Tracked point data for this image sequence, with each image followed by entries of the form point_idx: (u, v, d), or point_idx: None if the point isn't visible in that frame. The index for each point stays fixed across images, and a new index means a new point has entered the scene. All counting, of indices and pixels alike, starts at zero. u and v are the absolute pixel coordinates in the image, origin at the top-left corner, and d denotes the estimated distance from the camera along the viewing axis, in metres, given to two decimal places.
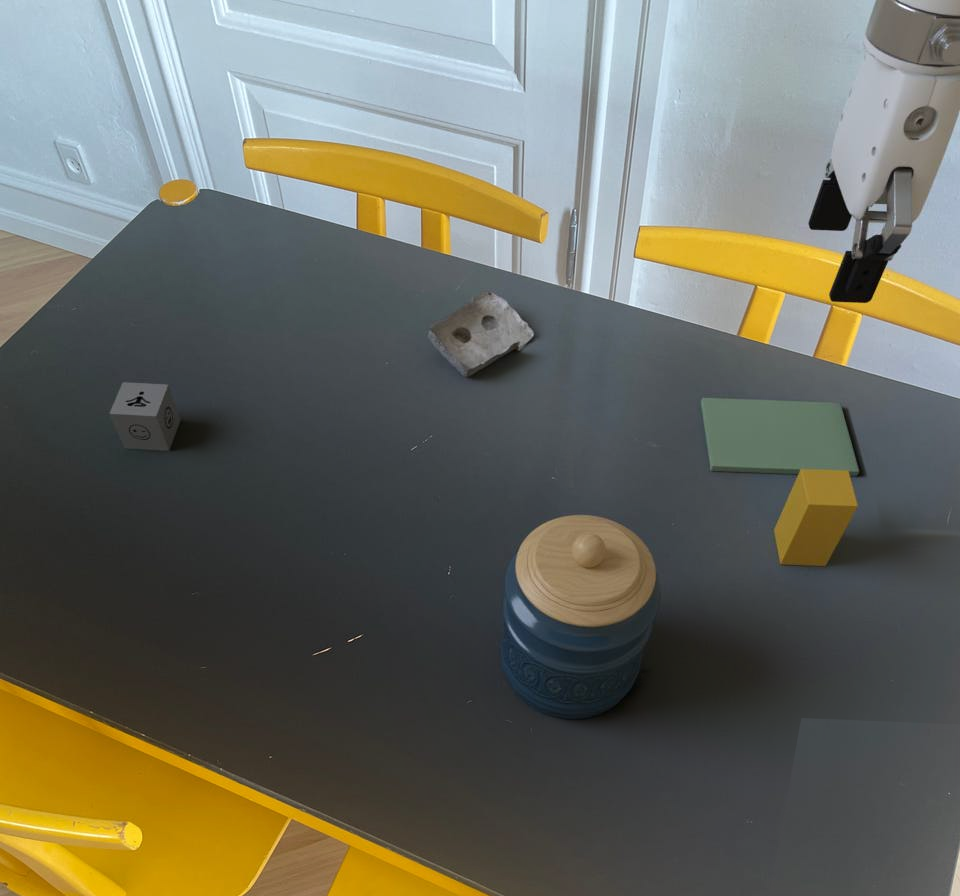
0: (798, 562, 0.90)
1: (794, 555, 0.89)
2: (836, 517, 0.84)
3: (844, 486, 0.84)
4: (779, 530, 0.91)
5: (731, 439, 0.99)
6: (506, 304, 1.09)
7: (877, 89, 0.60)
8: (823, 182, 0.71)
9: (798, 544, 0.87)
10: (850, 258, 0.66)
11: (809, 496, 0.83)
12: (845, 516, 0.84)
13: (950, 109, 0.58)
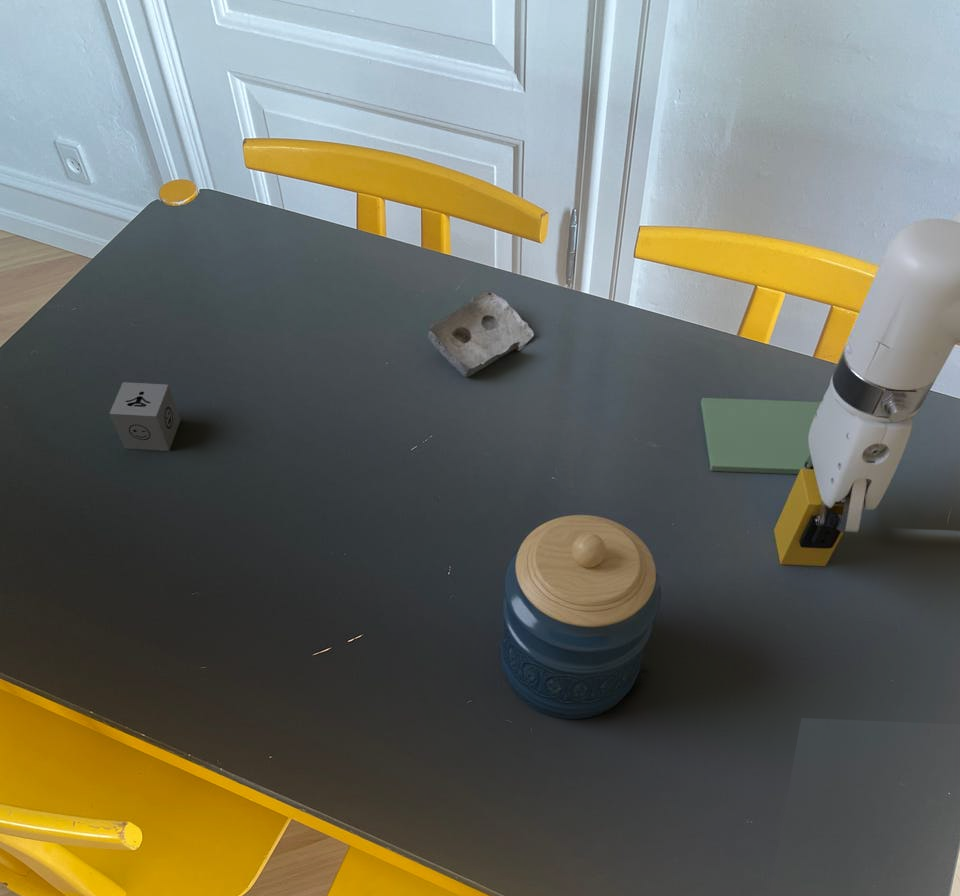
0: (798, 562, 0.90)
1: (794, 555, 0.89)
2: None
3: None
4: (779, 530, 0.91)
5: (731, 439, 0.99)
6: (506, 304, 1.09)
7: (841, 420, 0.75)
8: None
9: (798, 544, 0.87)
10: (815, 522, 0.84)
11: (809, 496, 0.83)
12: None
13: (898, 445, 0.73)
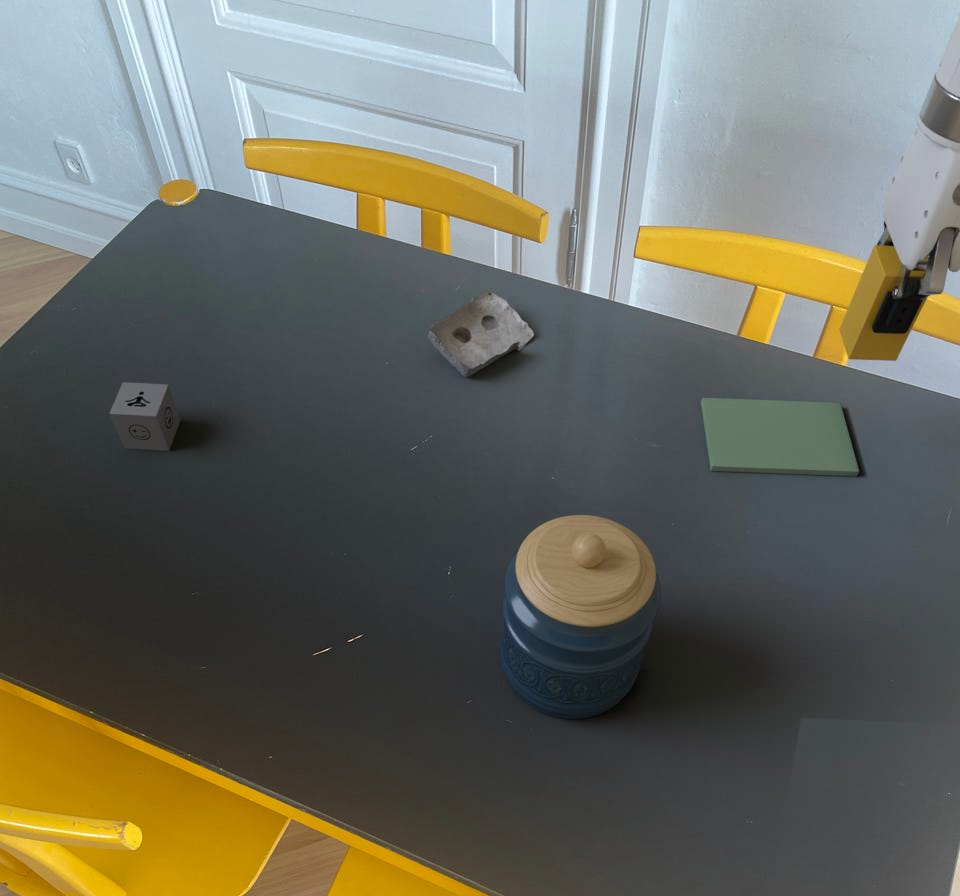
0: (867, 356, 0.85)
1: (864, 346, 0.84)
2: None
3: None
4: (846, 325, 0.86)
5: (731, 439, 0.99)
6: (506, 304, 1.09)
7: (928, 162, 0.70)
8: None
9: (870, 330, 0.82)
10: (891, 297, 0.79)
11: (885, 268, 0.78)
12: None
13: None
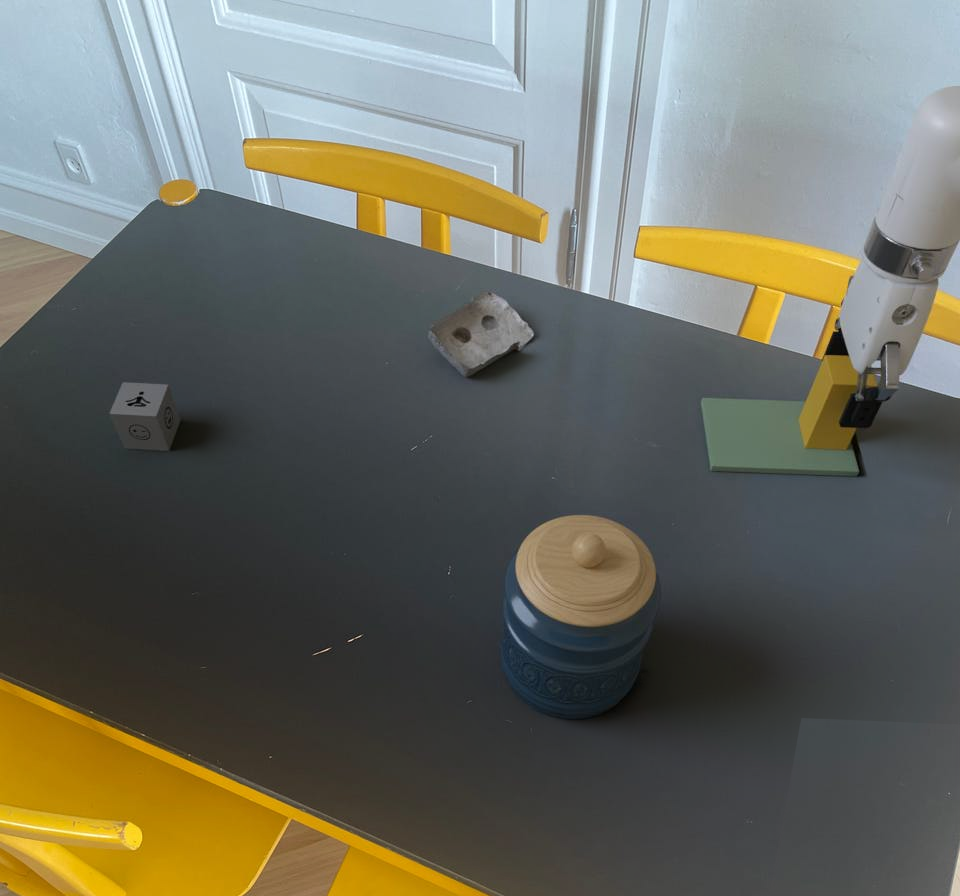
0: (821, 446, 0.98)
1: (817, 438, 0.97)
2: None
3: None
4: (803, 417, 0.99)
5: (731, 439, 0.99)
6: (506, 304, 1.09)
7: (872, 287, 0.82)
8: (833, 333, 0.94)
9: (822, 426, 0.95)
10: (854, 399, 0.89)
11: (833, 377, 0.91)
12: None
13: (925, 306, 0.80)
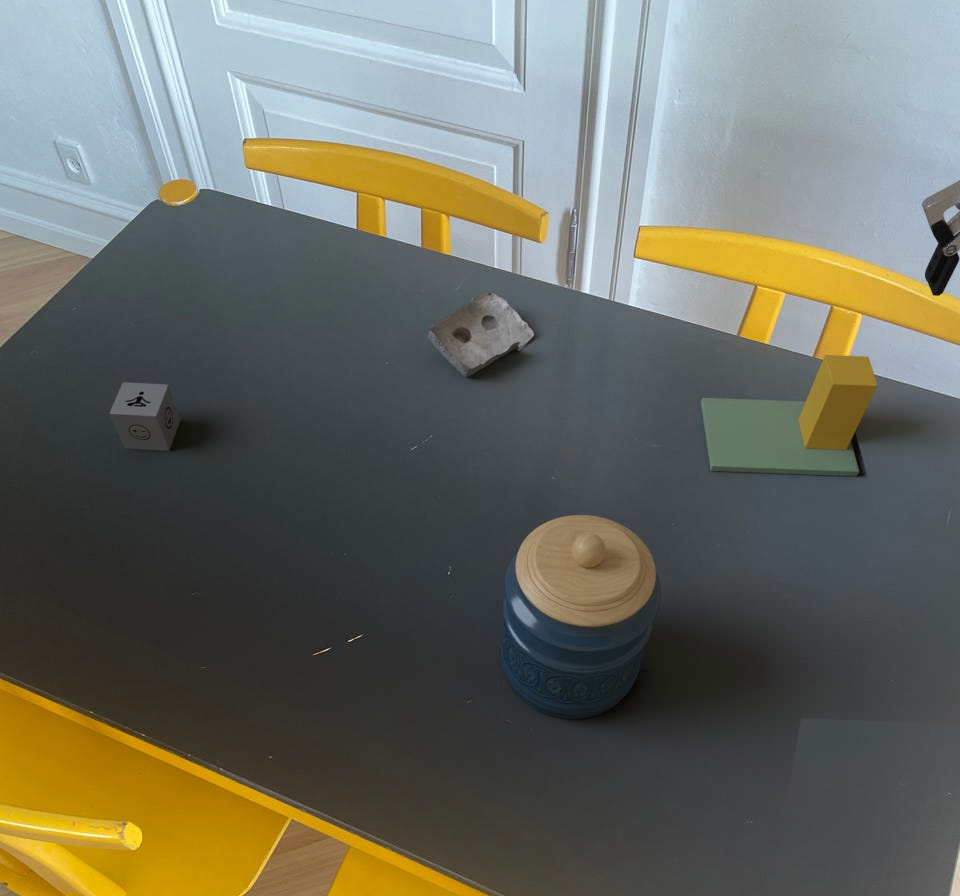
0: (821, 446, 0.98)
1: (817, 438, 0.97)
2: (857, 397, 0.92)
3: (864, 369, 0.92)
4: (803, 417, 0.99)
5: (731, 439, 0.99)
6: (506, 304, 1.09)
7: None
8: None
9: (822, 426, 0.95)
10: None
11: (833, 377, 0.91)
12: (865, 396, 0.92)
13: None
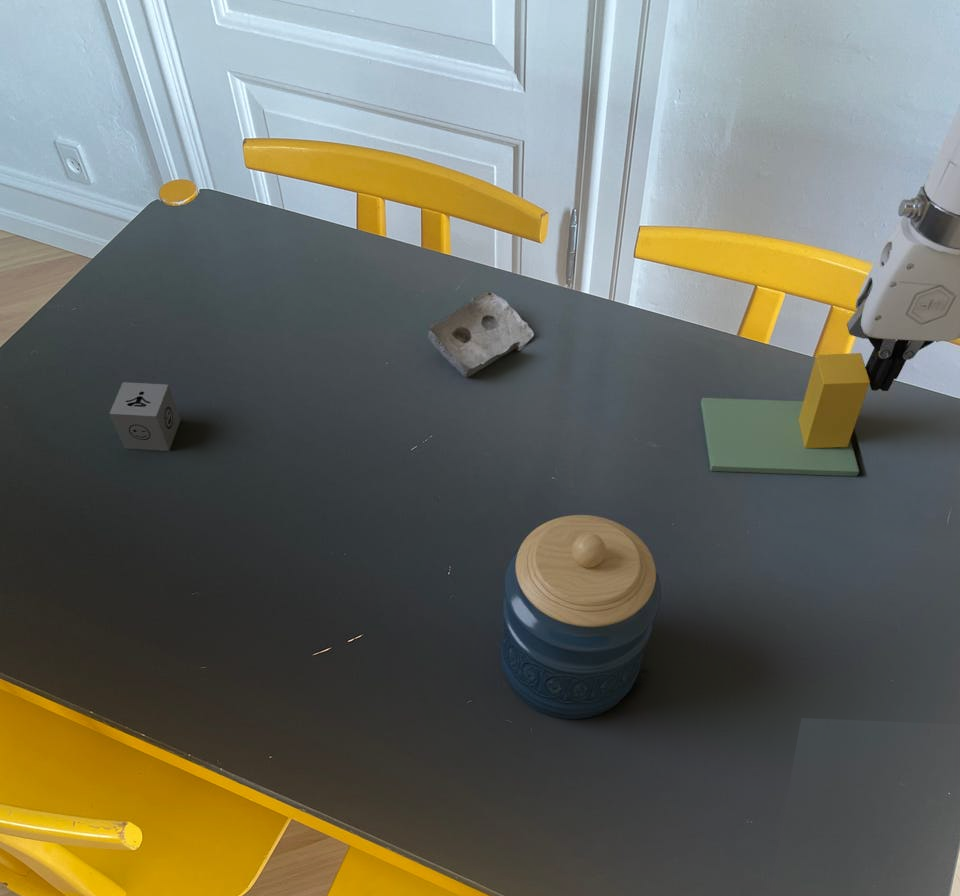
0: (821, 445, 0.98)
1: (816, 438, 0.97)
2: (851, 395, 0.92)
3: (856, 366, 0.92)
4: (802, 417, 0.99)
5: (731, 439, 0.99)
6: (506, 304, 1.09)
7: None
8: None
9: (819, 425, 0.95)
10: None
11: (824, 377, 0.91)
12: (859, 393, 0.92)
13: (895, 255, 0.80)
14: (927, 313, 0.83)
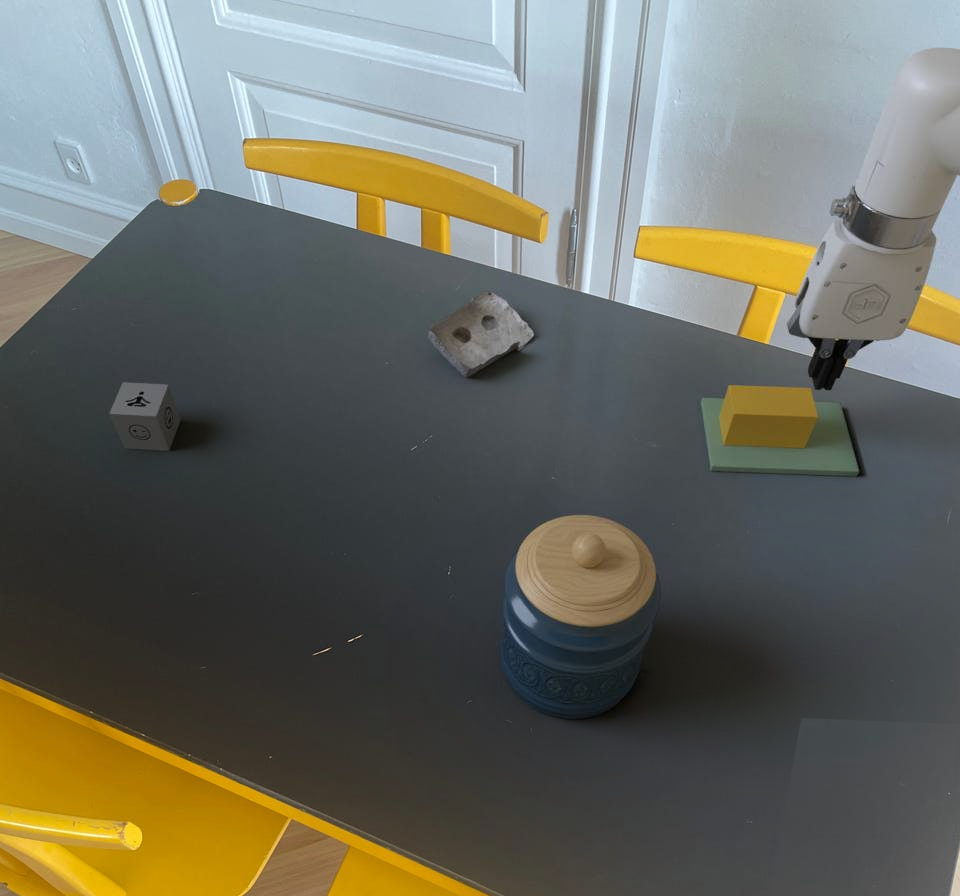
0: (805, 436, 0.97)
1: (793, 441, 0.97)
2: (746, 424, 0.96)
3: (729, 404, 0.96)
4: None
5: None
6: (506, 304, 1.09)
7: None
8: (835, 340, 0.91)
9: (777, 441, 0.97)
10: None
11: (722, 437, 0.99)
12: (746, 418, 0.95)
13: (828, 254, 0.80)
14: (863, 312, 0.83)
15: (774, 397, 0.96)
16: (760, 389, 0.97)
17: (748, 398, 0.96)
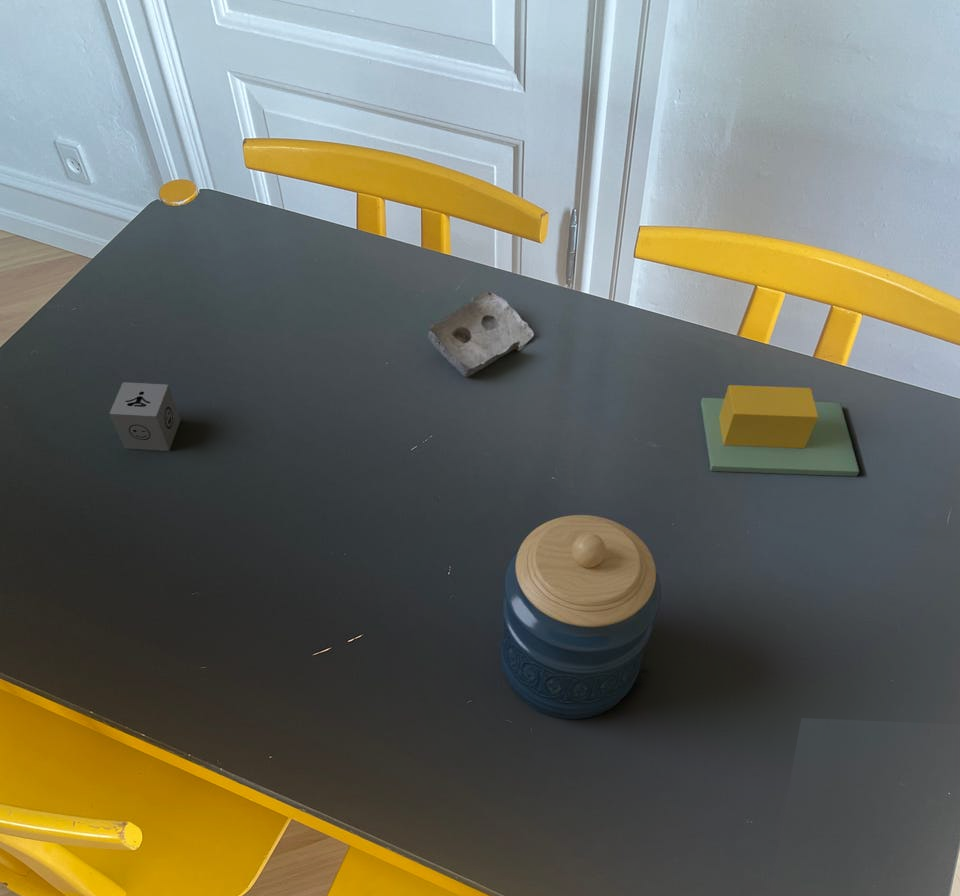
0: (805, 436, 0.97)
1: (793, 441, 0.97)
2: (746, 424, 0.96)
3: (729, 404, 0.96)
4: None
5: None
6: (506, 304, 1.09)
7: None
8: None
9: (777, 441, 0.97)
10: None
11: (722, 437, 0.99)
12: (746, 418, 0.95)
13: None
14: None
15: (774, 397, 0.96)
16: (760, 389, 0.97)
17: (748, 398, 0.96)
